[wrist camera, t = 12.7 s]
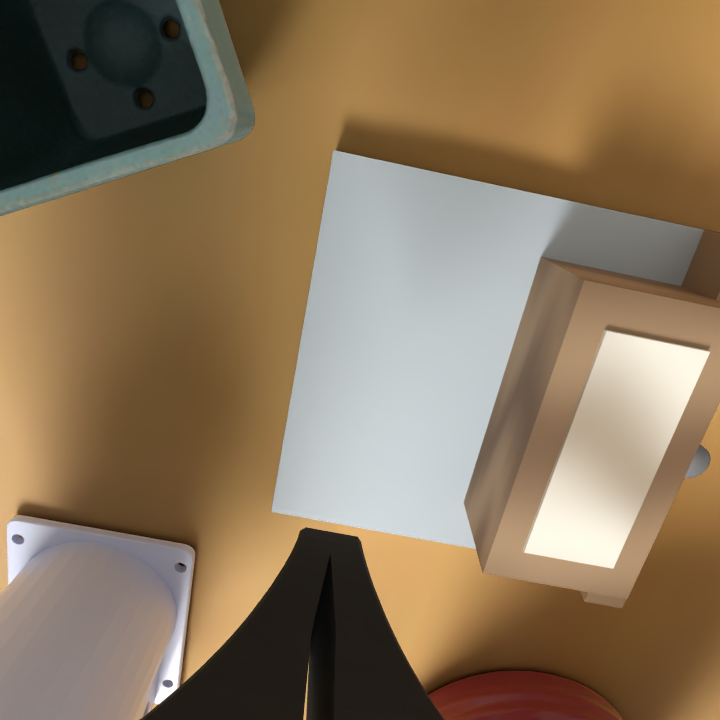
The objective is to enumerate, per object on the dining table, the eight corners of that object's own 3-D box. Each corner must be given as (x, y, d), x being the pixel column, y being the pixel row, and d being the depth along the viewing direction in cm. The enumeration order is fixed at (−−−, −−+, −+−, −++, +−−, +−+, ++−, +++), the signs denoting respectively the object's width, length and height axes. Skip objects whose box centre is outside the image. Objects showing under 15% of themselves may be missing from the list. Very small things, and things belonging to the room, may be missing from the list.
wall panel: (591, 555, 24) (633, 629, 20) (275, 497, 23) (256, 563, 19) (728, 235, 19) (816, 252, 15) (335, 150, 18) (326, 146, 14)
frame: (583, 524, 22) (629, 602, 18) (463, 502, 22) (483, 576, 18) (681, 285, 19) (763, 317, 15) (540, 256, 18) (586, 281, 14)
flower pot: (303, 150, 18) (245, 137, 10) (69, 222, 19) (-167, 267, 11) (209, -167, 16) (15, -563, 7) (-60, -63, 16) (-513, -301, 8)
